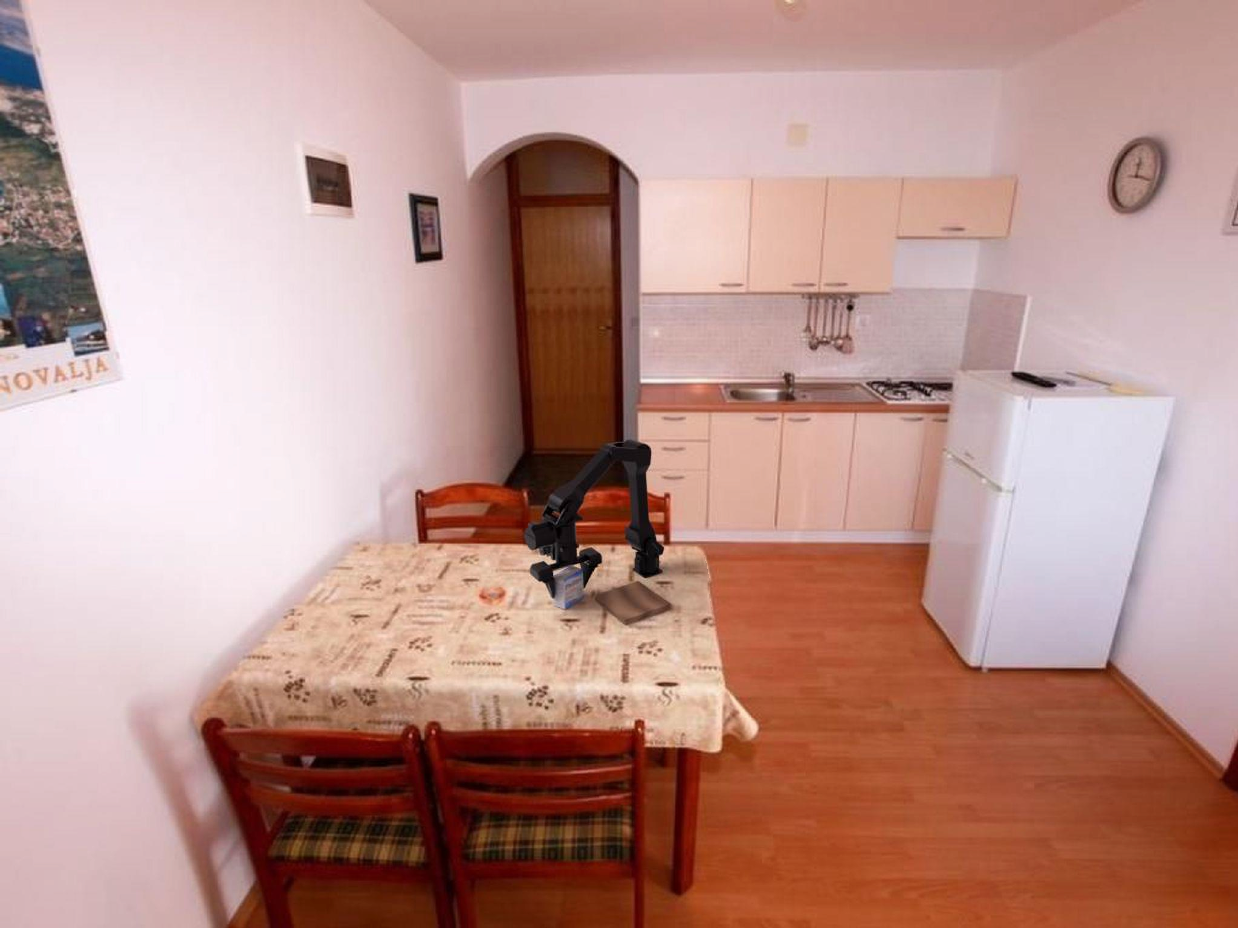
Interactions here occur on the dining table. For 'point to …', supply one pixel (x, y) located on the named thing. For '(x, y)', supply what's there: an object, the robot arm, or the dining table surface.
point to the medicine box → (568, 587)
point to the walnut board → (632, 602)
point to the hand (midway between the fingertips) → (568, 592)
